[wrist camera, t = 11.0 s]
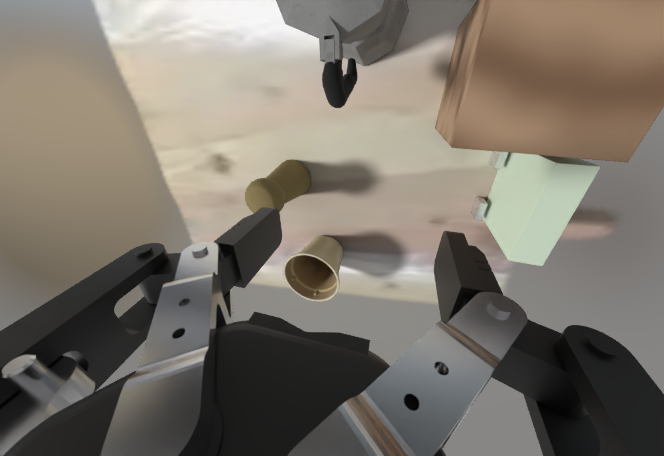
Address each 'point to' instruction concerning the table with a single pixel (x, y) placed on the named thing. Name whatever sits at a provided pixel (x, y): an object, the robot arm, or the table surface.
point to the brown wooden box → (555, 77)
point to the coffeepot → (346, 35)
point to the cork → (278, 186)
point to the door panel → (535, 203)
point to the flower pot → (315, 269)
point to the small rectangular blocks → (480, 203)
